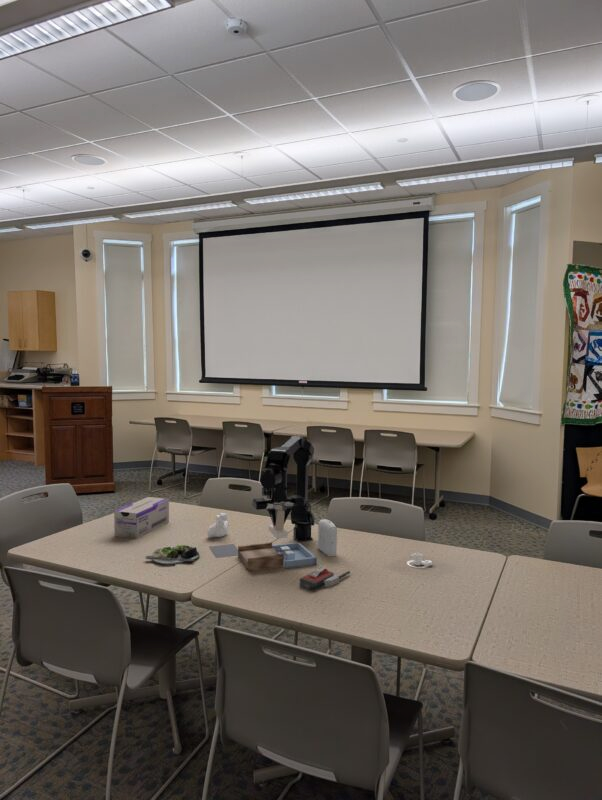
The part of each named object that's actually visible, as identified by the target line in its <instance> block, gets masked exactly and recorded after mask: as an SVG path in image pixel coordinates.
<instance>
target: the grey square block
mask: <svg viewBox="0 0 602 800" xmlns="http://www.w3.org/2000/svg"><path fill="white" fill-rule="evenodd" d="M293 559H295V553H294V552H293V551H285V560H293Z"/></svg>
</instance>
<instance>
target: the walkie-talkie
mask: <svg viewBox="0 0 602 800" xmlns="http://www.w3.org/2000/svg"><path fill="white" fill-rule="evenodd" d="M349 574H351V571H350V570H348V571H345V572H344V573H342V574H340V575H335V574H334V572H332V571H329V570H328V568H324V567H322V566H320V567H318V568H317V569H315V570H314V571H312V572H311V573H308V574H307V575H304V576H302V577H299V587H300V588H303V589H306V590H309V591H311V592H314V591H315V592H316V591H317V590H319V589H321V588H324V587H325V588H327V587H333V586H334V585H336V584H339V583H340V580H341V579H342V578H344V577H346V576H348V575H349Z"/></svg>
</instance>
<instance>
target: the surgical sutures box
mask: <svg viewBox="0 0 602 800" xmlns="http://www.w3.org/2000/svg"><path fill="white" fill-rule="evenodd" d="M113 512H114V514H113V515H114V521H113V522H114V527H113V528H114V536H115V537H123V538H131V539H139V538H141V537H143V536H145V535H147V534H148V533H150V532H153V531H154V530H156V529H158V528H160V527H162V526H163V524H164V525H166V524H167V522H168V523H169V522H170V513H169V512H170V498H164V497H163V498H162V497H152V496H151V497H150V496H147V497H145V498H143V499H142V498H141V499H140V500H137V501H135V502H132V503H130V504H128V505H125V506H123V507H119V508H118V509H116V510H114V511H113ZM165 523H166V524H165ZM161 525H162V526H161Z"/></svg>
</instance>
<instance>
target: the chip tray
mask: <svg viewBox="0 0 602 800" xmlns="http://www.w3.org/2000/svg"><path fill="white" fill-rule="evenodd" d="M284 546H288V547H289V548H290V551H293V552H294V553H295V559H293V560H285V557H284V567H283V568H284V569H293V568H294V569H295V568H302V567H307V566H308V567H309V566H316V565H318V560H317V559H318V558H317V556H315V554H313V553H312V552H311V551H310V550H309V549H307V547H305V546H304V545H303V544H302V543H301V542H300V541H297V542H289V543H280V544H278V543H277V544H272V547H273V548H274V549H275V550H276V551H277V552H278V553H279V554H280V547H284Z"/></svg>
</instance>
